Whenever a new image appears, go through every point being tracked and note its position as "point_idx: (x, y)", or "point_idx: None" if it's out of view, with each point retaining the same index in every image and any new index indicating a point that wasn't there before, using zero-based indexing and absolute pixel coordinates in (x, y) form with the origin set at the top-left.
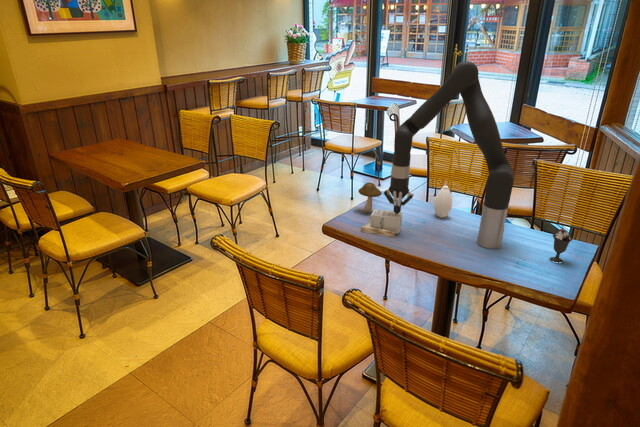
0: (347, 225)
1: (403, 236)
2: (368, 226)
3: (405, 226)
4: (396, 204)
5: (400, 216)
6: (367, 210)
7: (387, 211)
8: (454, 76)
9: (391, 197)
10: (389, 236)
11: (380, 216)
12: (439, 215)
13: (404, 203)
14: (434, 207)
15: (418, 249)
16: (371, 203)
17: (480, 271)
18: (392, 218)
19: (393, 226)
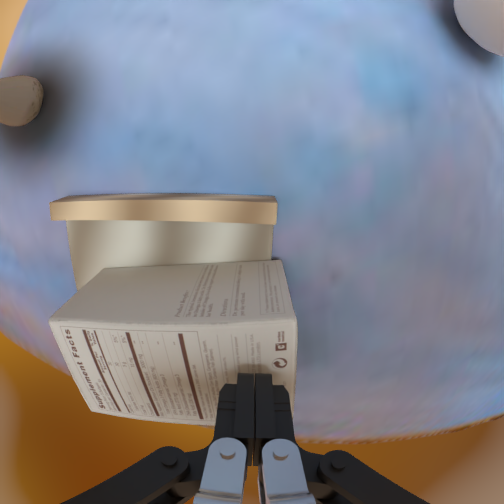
0: (28, 309)
1: (310, 344)
2: None
3: (308, 210)
4: (244, 479)
5: (291, 394)
6: (23, 123)
7: (155, 347)
8: None
9: (150, 499)
10: None
11: (149, 420)
12: (479, 44)
13: (335, 498)
14: (474, 7)
15: (372, 409)
16: (5, 101)
17: (489, 410)
18: None
19: None
